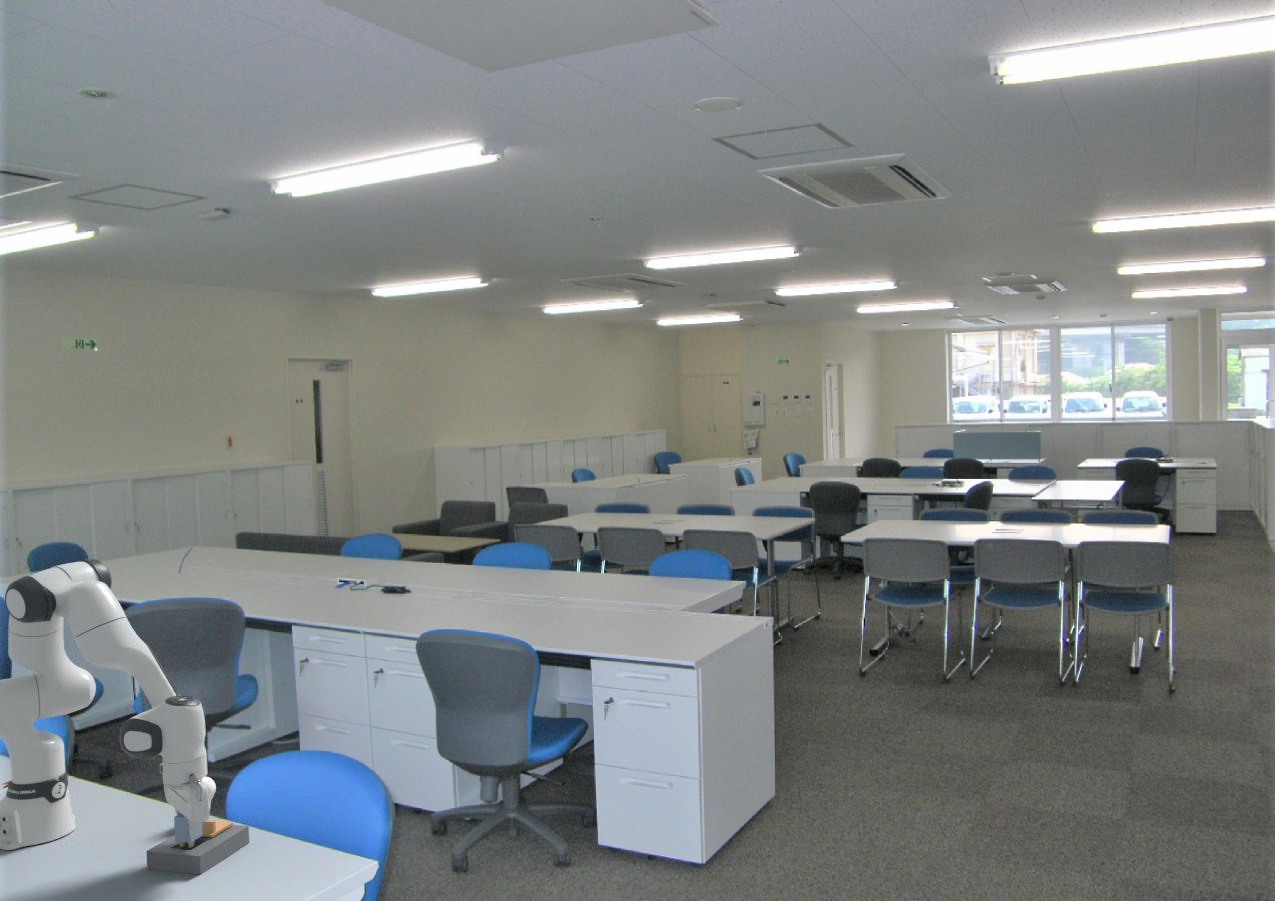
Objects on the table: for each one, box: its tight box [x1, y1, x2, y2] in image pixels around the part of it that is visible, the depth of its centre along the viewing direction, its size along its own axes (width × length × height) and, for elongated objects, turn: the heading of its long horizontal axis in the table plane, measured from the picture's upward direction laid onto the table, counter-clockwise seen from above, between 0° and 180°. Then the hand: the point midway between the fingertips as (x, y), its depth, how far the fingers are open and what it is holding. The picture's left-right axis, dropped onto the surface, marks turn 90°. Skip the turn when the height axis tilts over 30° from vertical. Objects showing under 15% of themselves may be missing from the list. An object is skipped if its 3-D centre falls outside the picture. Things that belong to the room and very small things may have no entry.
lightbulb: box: [202, 776, 217, 811], centre depth 235 cm, size 6×6×11 cm
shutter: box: [201, 819, 234, 837], centre depth 219 cm, size 7×7×3 cm
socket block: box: [145, 824, 250, 876], centre depth 215 cm, size 14×16×4 cm
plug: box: [173, 813, 203, 848], centre depth 212 cm, size 4×4×8 cm
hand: (188, 831), depth 212 cm, fingers closed on plug, 6 cm apart
